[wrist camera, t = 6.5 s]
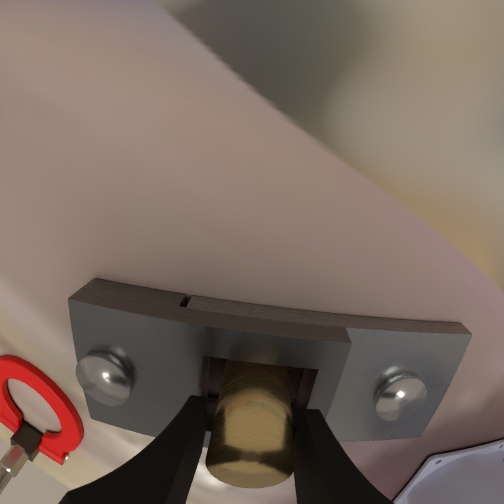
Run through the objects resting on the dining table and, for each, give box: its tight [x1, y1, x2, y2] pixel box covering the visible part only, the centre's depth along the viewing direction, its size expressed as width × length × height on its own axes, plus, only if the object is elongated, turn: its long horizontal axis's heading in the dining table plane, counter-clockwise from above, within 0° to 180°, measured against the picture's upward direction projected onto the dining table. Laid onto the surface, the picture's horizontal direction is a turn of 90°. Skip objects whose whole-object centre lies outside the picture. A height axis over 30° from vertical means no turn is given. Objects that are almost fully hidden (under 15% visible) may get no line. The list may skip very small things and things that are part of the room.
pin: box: [205, 359, 295, 488], centre depth 12 cm, size 3×3×6 cm
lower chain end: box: [186, 295, 472, 441], centre depth 14 cm, size 13×7×2 cm, turn 83°
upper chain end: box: [68, 278, 352, 448], centre depth 13 cm, size 11×7×3 cm, turn 83°
